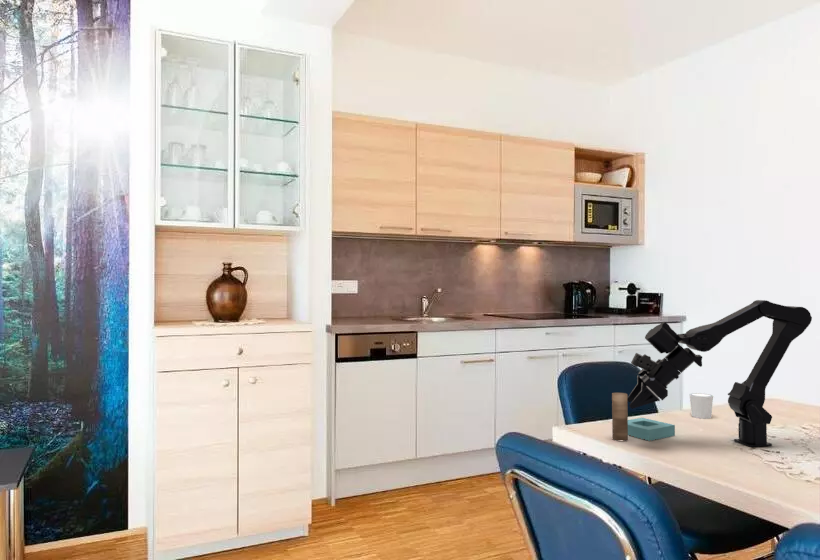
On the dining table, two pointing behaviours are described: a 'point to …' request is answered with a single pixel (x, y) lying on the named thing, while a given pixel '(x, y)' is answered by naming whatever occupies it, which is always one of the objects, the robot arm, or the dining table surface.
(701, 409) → the white cup
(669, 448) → the dining table surface
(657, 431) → the socket block
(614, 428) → the walnut pin
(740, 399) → the robot arm
